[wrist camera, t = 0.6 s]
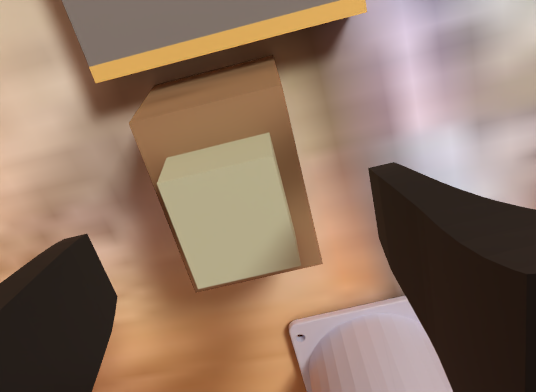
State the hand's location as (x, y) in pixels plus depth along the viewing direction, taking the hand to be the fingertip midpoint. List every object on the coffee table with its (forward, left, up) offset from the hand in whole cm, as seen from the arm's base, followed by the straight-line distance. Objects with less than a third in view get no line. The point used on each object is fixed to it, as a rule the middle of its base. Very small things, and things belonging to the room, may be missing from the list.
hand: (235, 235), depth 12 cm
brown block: (-1, +1, -10) cm, 10 cm away
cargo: (-1, 0, -5) cm, 5 cm away
